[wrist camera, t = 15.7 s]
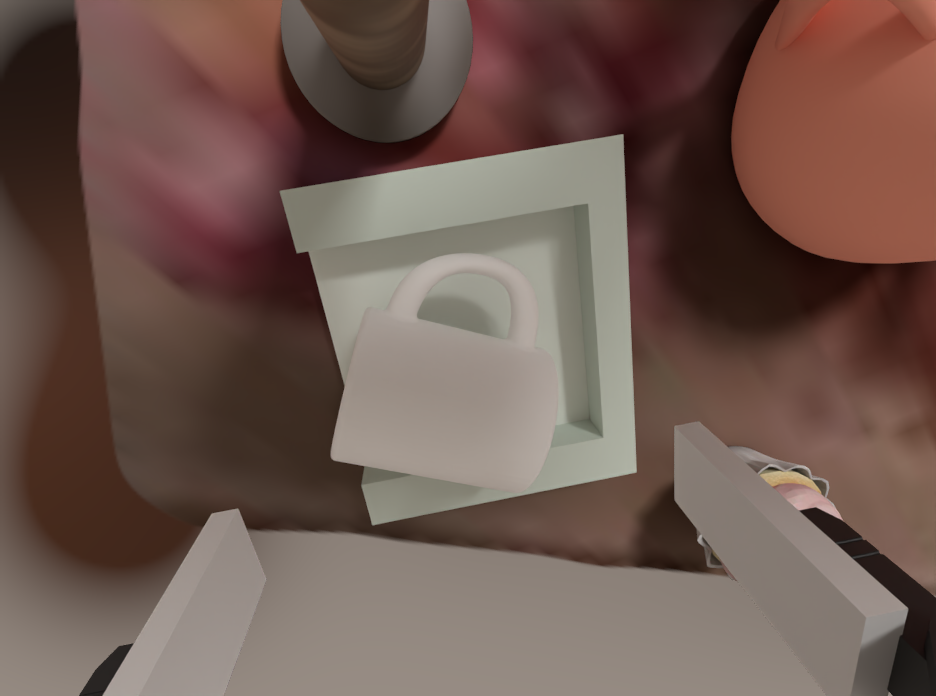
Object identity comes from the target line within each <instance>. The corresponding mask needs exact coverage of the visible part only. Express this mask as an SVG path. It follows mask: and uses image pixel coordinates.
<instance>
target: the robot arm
mask: <svg viewBox="0 0 936 696" xmlns="http://www.w3.org/2000/svg"><path fill="white" fill-rule="evenodd" d="M674 500H675V502H676V503H677V504H678V505H679V507H680V508H681V509H682V511H683V512H684V513H685V514H686V516H687V517H688V518H689V520H690V521H691V522H692V523H693V525H694V526H695V527H696V529H697V530H698V531H699V532H700V534H701V535H702V536H703V538H704V539H705V540H706V541H707V543H708V544H709V545H710V547H711V548H712V549H713V550H714V552H715V553H716V554H717V556H718V557H719V558H720V559H721V561H722V562H723V563H724V565H725V566H726V567H727V568H728V570H729V571H730V572H731V574H732V575H733V576H734V577H735V579H736V580H737V581H738V583H739V584H740V585H741V586H742V588H743V589H744V590H745V591H746V593H747V594H748V595H749V597H750V598H751V599H752V601H753V602H754V603H755V604H756V606H757V607H758V608H759V610H760V611H761V612H762V613H763V615H764V616H765V617H766V619H767V620H768V621H769V622H770V624H771V625H772V626H773V627H774V629H775V630H776V631H777V633H778V634H779V635H780V637H781V638H782V639H783V640H784V642H785V643H786V644H787V646H788V647H789V648H790V649H791V651H792V652H793V653H794V655H795V656H796V657H797V658H798V660H799V661H800V662H801V664H802V665H803V666H804V667H805V669H806V670H807V671H808V673H809V674H810V675H811V676H812V677H813V679H814V680H815V682H816V683H817V684H818V685H819V687H820V688H821V689H822V691H823V692H824V693H825V694H826V696H888V692H890V693H891V694H892V695H893V696H936V597H934V596H933V595H932V594H931V593H929V592H928V591H927V590H926V589H925V588H923V587H922V586H921V585H920V584H919V583H917V582H916V581H915V580H914V579H913V578H911V577H910V576H909V575H908V574H906V573H905V572H904V571H903V570H902V569H900V568H899V567H898V566H897V565H896V564H894V563H893V562H892V561H891V560H889V559H888V558H887V557H886V556H885V555H883V554H880V553H879V550H877V549H876V548H875V547H874V546H873V545H871V544H870V543H869V542H868V541H866V540H863V539H862V536H860V535H859V534H858V533H857V532H856V531H854V530H853V529H852V528H851V527H850V526H848V525H847V524H846V523H845V522H843V521H842V520H841V519H839V518H837V517H835V516H833V515H831V514H829V513H827V512H825V511H823V510H821V509H819V508H817V507H814V508H809V509H804V510H798V509H796V508H795V507H794V506H793V505H792V504H791V503H790V502H789V501H787V500H786V499H785V498H784V497H783V496H782V495H781V494H780V493H779V492H777V491H776V490H775V489H774V488H773V487H772V486H771V485H770V484H768V483H767V482H766V481H765V480H764V479H763V478H762V477H761V476H760V475H758V474H757V473H756V472H755V471H754V470H753V469H752V468H751V467H749V466H748V465H747V464H746V463H745V462H744V461H743V460H742V459H741V458H739V457H738V456H737V455H736V454H735V453H734V452H733V451H732V450H730V449H729V448H728V447H727V446H726V445H725V444H724V443H723V442H721V441H720V440H719V439H718V438H717V437H716V436H715V435H714V434H713V433H711V432H710V431H709V430H708V429H707V428H706V427H705V426H704V425H702V424H701V423H700V422H699V421H698V422H693V423H688V424H683V425H677V426H674ZM266 580H267V579H266V576H265V574H264V571H263V569H262V566H261V564H260V561H259V559H258V556H257V554H256V551H255V549H254V547H253V544H252V541H251V539H250V537H249V534H248V532H247V529H246V527H245V524H244V522H243V519H242V517H241V514H240V512H239V509H233V510H228V511H222V512H217V513H212V514H211V516H210V517H209V519H208V521H207V522H206V524H205V526H204V527H203V529H202V531H201V532H200V534H199V536H198V537H197V539H196V541H195V542H194V544H193V546H192V548H191V549H190V551H189V552H188V554H187V556H186V557H185V559H184V561H183V562H182V564H181V566H180V567H179V569H178V571H177V573H176V574H175V576H174V577H173V579H172V581H171V583H170V584H169V586H168V587H167V589H166V591H165V593H164V594H163V596H162V597H161V599H160V601H159V603H158V604H157V606H156V607H155V609H154V611H153V612H152V614H151V616H150V617H149V619H148V621H147V623H146V624H145V626H144V627H143V629H142V631H141V632H140V634H139V636H138V637H137V639H136V641H135V642H134V644H129V645H123V646H119V647H118V648H117V649H116V650H115V651H114V652H113V653H112V654H111V655H110V656H109V657H108V658H107V659H106V660H105V661H104V662H103V663H102V664H101V665H100V666H99V667H98V668H97V669H96V670H95V672H94V673H93V675H92V676H91V678H90V679H89V681H88V683H87V684H86V686H85V687H84V689H83V690H82V692H81V693H80V695H79V696H224V694H225V691H226V689H227V686H228V683H229V681H230V678H231V675H232V672H233V670H234V667H235V664H236V662H237V659H238V656H239V653H240V651H241V648H242V645H243V643H244V640H245V637H246V634H247V632H248V629H249V626H250V623H251V621H252V618H253V616H254V613H255V610H256V607H257V604H258V602H259V599H260V597H261V594H262V591H263V588H264V586H265V583H266Z"/></svg>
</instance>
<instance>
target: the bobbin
mask: <svg viewBox="0 0 936 696" xmlns="http://www.w3.org/2000/svg"><path fill="white" fill-rule="evenodd" d="M281 34H282V42H283V47H284V52H285V56H286V59H287V62H288V65H289V68H290V70H291V73H292V75H293V77H294V79H295V81H296V83H297V85H298V86H299V88H300V90H301V92H302V93H303V94H304V96H305V97H306V98H307V100H308V101H309V102H310V104H311V105H312V106H313V107H314V108H315V109H316V110H317V111H318V112H319V113H320V114H321V115H322V116H323V117H325V118H326V119H327V120H328V121H329V122H331V123H332V124H334V125H335V126H337V127H338V128H340V129H341V130H343V131H344V132H346V133H349V134H351V135H353V136H355V137H358V138H361V139H364V140H367V141H372V142H378V143H394V142H401V141H406V140H410V139H412V138H415V137H417V136H420V135H422V134H423V133H425V132H427V131H429V130H430V129H432V128H433V127H434V126H435V125H437V124H438V123H439V122H440V121H441V120H442V119H443V118H444V117H445V116H446V115H447V114H448V112H449V111H450V110H451V108H452V107H453V106H454V104H455V102H456V100H457V98H458V97H459V95H460V93H461V91H462V89H463V87H464V84H465V82H466V79H467V76H468V72H469V69H470V65H471V58H472V49H473V33H472V22H471V17H470V12H469V8H468V5H467V1H466V0H283V2H282V8H281Z"/></svg>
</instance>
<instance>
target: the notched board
mask: <svg viewBox="0 0 936 696" xmlns="http://www.w3.org/2000/svg"><path fill="white" fill-rule="evenodd" d="M280 195H281V198H282V202H283V205H284V209H285V213H286V216H287V220H288V223H289V227H290V231H291V234H292V238H293V241H294V245H295V249H296V252H297V253H301V252H307V251H309V255H310V259H311V263H312V266H313V270H314V274H315V277H316V281H317V285H318V289H319V292H320V296H321V300H322V303H323V307H324V311H325V315H326V318H327V322H328V326H329V329H330V333H331V337H332V341H333V344H334V348H335V352H336V355H337V359H338V363H339V367H340V370H341V374H342V378H343V381H344V385H345V383H346V379H347V375H348V371H349V367H350V363H351V359H352V355H353V351H354V347H355V343H356V340H357V336H358V332H359V329H360V325H361V322H362V318H363V315H364V312H365V310H366V309H367V308H369V307H373V308H377V309H381V310H385V309H387V307H388V304H389V302H390V300H391V298H392V295H393V293H394V292H395V290H396V288H397V287H398V285H399V284H400V282H401V281H402V280H403V279H404V277H405V276H406V275H407V274H408V273H409V272H411V271H412V270H413V269H414V268H416V267H417V266H419V265H420V264H422V263H424V262H426V261H428V260H430V259H433V258H436V257H439V256H443V255H449V254H457V253H472V254H481V255H487V256H491V257H495V258H498V259H501V260H503V261H506V262H508V263H510V264H511V265H513V266H514V267H516V268H517V269H519V270H520V271H521V272H522V273H523V274H524V275H525V276H526V278H527V279H528V280H529V282H530V283H531V285H532V287H533V289H534V292H535V295H536V298H537V303H538V315H539V316H538V329H537V336H536V341H535V347H537V348H541V349H544V350H546V351H547V352H548V353H549V354H550V355H551V357H552V358H553V360H554V363H555V366H556V370H557V375H558V386H559V398H558V411H557V419H556V425H555V430H554V434H553V438H552V442H551V446H550V449H549V452H548V455H547V457H546V460H545V462H544V465H543V467H542V469H541V471H540V473H539V475H538V476H537V478H536V479H535V481H534V482H533V483H532V484H531V485H530V486H529V487H528V488H527V489H526V490H524V491H523V492H520V493H511V492H506V491H500V490H495V489H489V488H483V487H478V486H472V485H467V484H461V483H456V482H450V481H445V480H439V479H433V478H428V477H422V476H417V475H411V474H406V473H400V472H395V471H389V470H383V469H378V468H372V467H367V466H364V472H363V478H362V484H361V486H362V490H363V493H364V497H365V500H366V504H367V508H368V511H369V515H370V518H371V522H372V525H376V524H381V523H386V522H391V521H396V520H401V519H406V518H411V517H416V516H421V515H426V514H431V513H436V512H441V511H446V510H451V509H456V508H461V507H466V506H471V505H476V504H481V503H486V502H491V501H496V500H501V499H506V498H511V497H516V496H521V495H526V494H531V493H536V492H541V491H546V490H551V489H556V488H561V487H566V486H571V485H576V484H581V483H586V482H591V481H596V480H601V479H606V478H611V477H616V476H621V475H626V474H631V473H636V472H637V470H636V444H635V419H634V394H633V368H632V343H631V318H630V292H629V267H628V241H627V216H626V191H625V165H624V140H623V134H621V135H615V136H609V137H603V138H597V139H591V140H585V141H579V142H573V143H567V144H561V145H555V146H549V147H542V148H536V149H530V150H524V151H518V152H512V153H506V154H500V155H494V156H488V157H482V158H476V159H470V160H464V161H458V162H452V163H446V164H440V165H433V166H427V167H421V168H415V169H409V170H403V171H397V172H391V173H385V174H379V175H373V176H367V177H361V178H355V179H349V180H343V181H337V182H330V183H324V184H318V185H312V186H306V187H300V188H294V189H288V190H282V191H280ZM417 318H418V319H422V320H426V321H430V322H434V323H438V324H443V325H447V326H451V327H455V328H459V329H463V330H467V331H471V332H475V333H479V334H484V335H488V336H492V337H496V338H500V339H506V338H507V336H508V332H509V327H510V319H511V303H510V298H509V294H508V292H507V290H506V288H505V287H504V286H503V285H502V284H501V283H500V282H499V281H497V280H495V279H493V278H491V277H488V276H484V275H479V274H471V273H460V274H454V275H451V276H448V277H446V278H444V279H442V280H441V281H439V282H438V283H437V284H436V285H435V286H434V287H433V288H432V289H431V290H430V291H429V293H428V294H427V295H426V297H425V298H424V300H423V302H422V304H421V306H420V308H419V310H418V312H417Z"/></svg>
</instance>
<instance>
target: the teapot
mask: <svg viewBox="0 0 936 696" xmlns="http://www.w3.org/2000/svg"><path fill="white" fill-rule="evenodd" d="M731 144H732V157H733V162H734V167H735V172H736V176H737V178H738V181H739V183H740V186H741V189H742V191H743V193H744V194H745V196H746V198H747V200H748V201H749V203H750V205H751V206H752V207H753V209H754V210H755V211H756V212H757V214H758V215H759V216H760V217H761V219H762V220H763V221H764V222H765V223H766V224H768V225H769V226H770V227H771V228H772V229H773V230H774V231H775V232H776V233H778V234H779V235H781V236H782V237H783V238H785V239H786V240H788V241H789V242H790V243H792V244H793V245H795V246H797V247H799V248H801V249H803V250H805V251H807V252H810V253H813V254H816V255H819V256H822V257H825V258H831V259H836V260H842V261H849V262H856V263H909V262H923V261H935V260H936V0H780V1H779V3H778V4H777V6H776V8H775V9H774V11H773V12H772V14H771V16H770V18H769V20H768V22H767V23H766V25H765V27H764V29H763V31H762V33H761V35H760V37H759V39H758V41H757V44H756V46H755V48H754V51H753V53H752V56H751V58H750V60H749V63H748V65H747V68H746V72H745V75H744V78H743V81H742V84H741V87H740V90H739V93H738V97H737V101H736V106H735V110H734V115H733V122H732V133H731Z"/></svg>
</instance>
